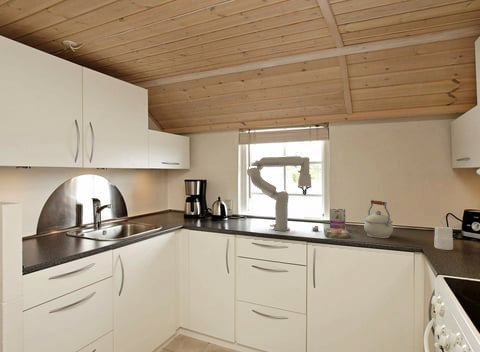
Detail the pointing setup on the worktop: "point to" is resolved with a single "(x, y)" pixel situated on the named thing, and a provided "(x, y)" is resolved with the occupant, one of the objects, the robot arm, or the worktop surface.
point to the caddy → (338, 233)
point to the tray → (329, 231)
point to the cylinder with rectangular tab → (443, 238)
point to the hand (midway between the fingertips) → (304, 194)
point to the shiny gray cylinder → (314, 228)
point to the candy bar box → (337, 218)
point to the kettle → (378, 223)
